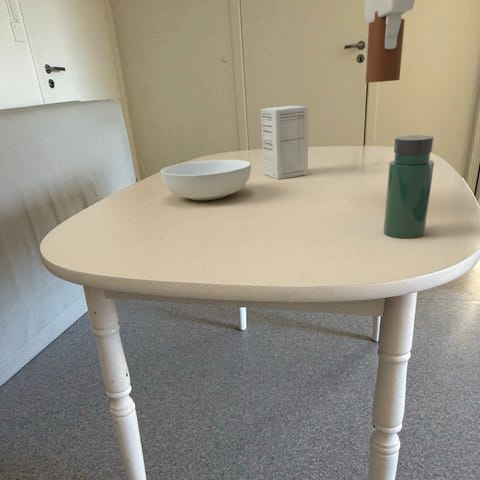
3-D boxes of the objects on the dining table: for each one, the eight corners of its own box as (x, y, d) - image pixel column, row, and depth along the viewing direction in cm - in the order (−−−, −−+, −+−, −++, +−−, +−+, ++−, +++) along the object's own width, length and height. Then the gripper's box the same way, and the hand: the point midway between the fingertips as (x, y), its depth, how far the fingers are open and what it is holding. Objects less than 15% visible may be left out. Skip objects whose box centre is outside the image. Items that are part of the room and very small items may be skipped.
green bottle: (417, 225, 76) (429, 133, 69) (430, 237, 70) (444, 138, 63) (379, 227, 76) (387, 136, 69) (388, 239, 70) (397, 141, 64)
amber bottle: (394, 79, 82) (401, -3, 76) (403, 79, 77) (411, -9, 71) (362, 82, 83) (367, 0, 77) (369, 82, 77) (374, -6, 72)
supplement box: (292, 170, 128) (292, 105, 120) (309, 174, 120) (309, 105, 112) (262, 174, 125) (259, 108, 117) (277, 179, 117) (275, 109, 109)
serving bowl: (269, 189, 107) (268, 159, 104) (217, 211, 93) (214, 177, 89) (201, 184, 118) (199, 157, 115) (145, 203, 103) (140, 172, 100)
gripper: (433, -73, 62) (421, 44, 68) (396, -39, 80) (389, 51, 86) (386, -68, 62) (379, 48, 69) (360, -35, 80) (356, 54, 87)
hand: (384, 50), depth 78 cm, fingers closed on amber bottle, 6 cm apart
